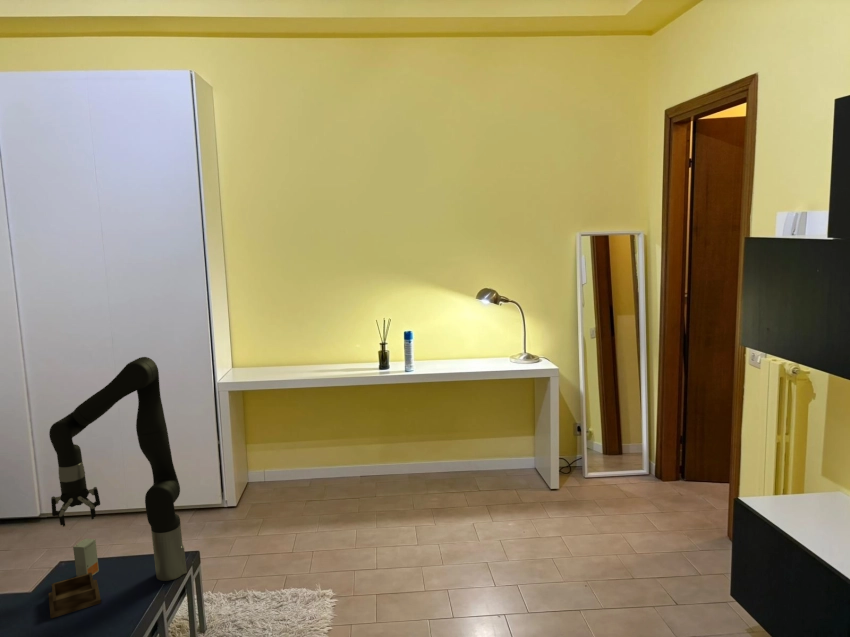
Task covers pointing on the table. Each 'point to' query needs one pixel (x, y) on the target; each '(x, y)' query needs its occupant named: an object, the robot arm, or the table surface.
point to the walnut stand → (73, 595)
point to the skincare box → (86, 557)
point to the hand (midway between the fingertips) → (78, 521)
